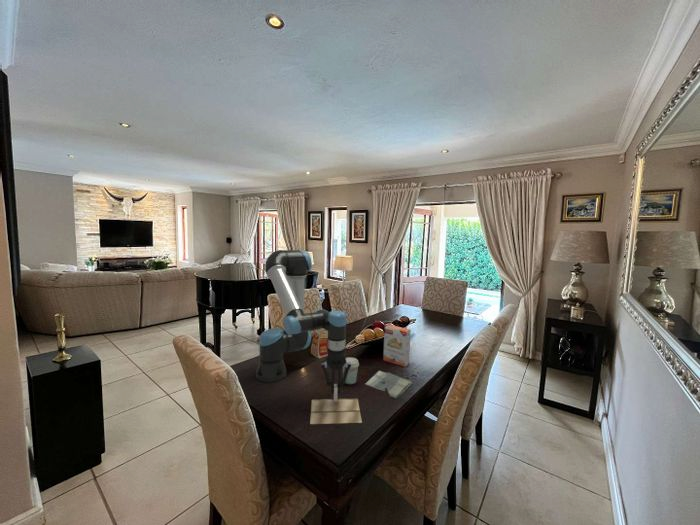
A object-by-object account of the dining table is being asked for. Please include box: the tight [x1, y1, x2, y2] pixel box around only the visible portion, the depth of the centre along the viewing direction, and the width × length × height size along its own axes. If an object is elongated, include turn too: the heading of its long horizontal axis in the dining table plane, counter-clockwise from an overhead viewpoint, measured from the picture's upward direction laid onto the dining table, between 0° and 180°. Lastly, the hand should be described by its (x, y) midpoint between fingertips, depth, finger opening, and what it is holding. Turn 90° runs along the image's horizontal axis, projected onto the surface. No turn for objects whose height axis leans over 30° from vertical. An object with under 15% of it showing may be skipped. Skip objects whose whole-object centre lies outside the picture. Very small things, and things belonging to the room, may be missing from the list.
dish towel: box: [364, 370, 413, 400], centre depth 143 cm, size 19×18×3 cm
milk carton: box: [310, 329, 328, 359], centre depth 177 cm, size 9×9×20 cm
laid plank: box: [309, 410, 363, 425], centre depth 115 cm, size 20×8×2 cm, turn 95°
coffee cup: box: [342, 356, 360, 385], centre depth 143 cm, size 8×9×12 cm
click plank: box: [310, 398, 361, 413], centre depth 122 cm, size 20×8×2 cm, turn 95°
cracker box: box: [382, 324, 411, 368], centre depth 168 cm, size 14×6×21 cm, turn 55°
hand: (335, 400), depth 125 cm, fingers closed
